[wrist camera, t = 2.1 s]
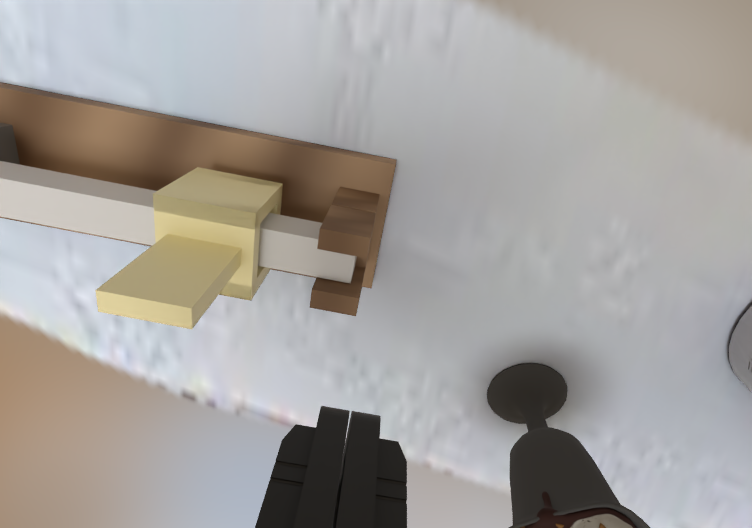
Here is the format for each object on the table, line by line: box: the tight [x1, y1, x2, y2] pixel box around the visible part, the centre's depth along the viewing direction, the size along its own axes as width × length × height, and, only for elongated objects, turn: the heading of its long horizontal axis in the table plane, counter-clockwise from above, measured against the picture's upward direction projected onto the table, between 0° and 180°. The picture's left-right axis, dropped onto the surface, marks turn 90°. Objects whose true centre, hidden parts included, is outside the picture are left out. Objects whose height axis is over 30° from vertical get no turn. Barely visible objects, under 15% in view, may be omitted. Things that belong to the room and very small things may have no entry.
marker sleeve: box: [96, 167, 283, 329], centre depth 18 cm, size 4×4×8 cm
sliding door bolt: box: [0, 123, 357, 284], centre depth 21 cm, size 21×4×5 cm, turn 80°
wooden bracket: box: [0, 82, 396, 316], centre depth 21 cm, size 22×7×6 cm, turn 80°
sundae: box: [487, 364, 650, 528], centre depth 22 cm, size 7×7×15 cm
